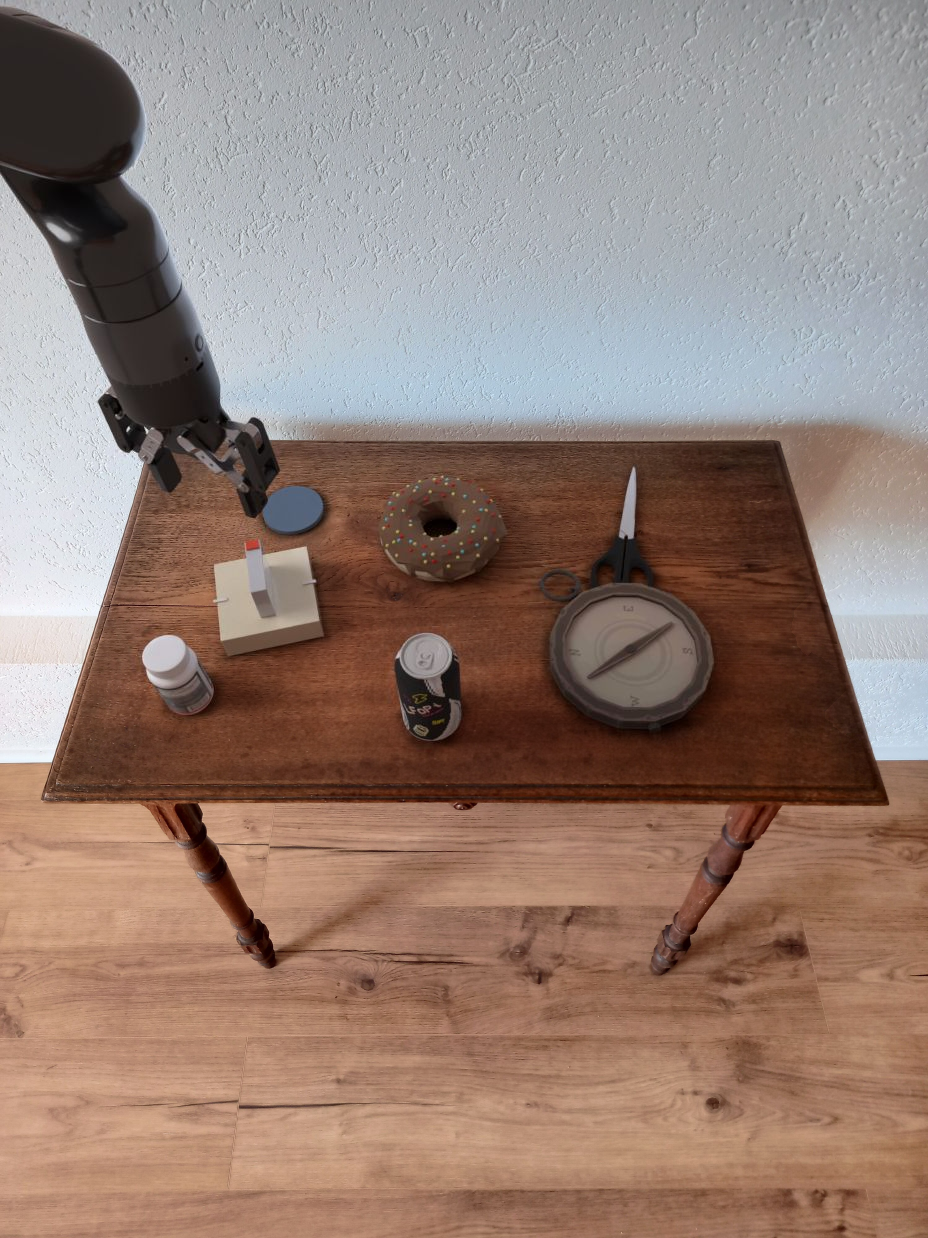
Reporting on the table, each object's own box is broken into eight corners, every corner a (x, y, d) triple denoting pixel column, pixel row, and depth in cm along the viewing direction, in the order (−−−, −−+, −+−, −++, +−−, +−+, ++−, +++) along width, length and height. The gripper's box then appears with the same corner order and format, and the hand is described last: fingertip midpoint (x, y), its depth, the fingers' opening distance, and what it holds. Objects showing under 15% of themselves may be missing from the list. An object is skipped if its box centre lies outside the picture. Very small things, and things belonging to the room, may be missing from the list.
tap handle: (276, 614, 83) (265, 587, 79) (260, 618, 82) (249, 591, 78) (269, 565, 86) (259, 537, 82) (254, 568, 86) (243, 540, 82)
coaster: (266, 540, 92) (265, 536, 91) (260, 495, 96) (259, 491, 95) (327, 528, 93) (327, 524, 92) (319, 484, 96) (318, 480, 96)
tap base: (224, 657, 83) (216, 641, 81) (217, 581, 89) (209, 563, 86) (327, 635, 85) (322, 619, 82) (314, 562, 90) (309, 544, 87)
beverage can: (396, 737, 78) (384, 676, 68) (412, 686, 81) (402, 621, 71) (454, 749, 77) (450, 689, 67) (467, 697, 80) (465, 633, 70)
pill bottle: (171, 675, 82) (143, 630, 75) (218, 674, 82) (193, 630, 75) (162, 717, 80) (132, 675, 73) (210, 716, 80) (184, 674, 73)
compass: (730, 727, 78) (736, 718, 76) (563, 745, 77) (565, 736, 76) (679, 559, 89) (683, 548, 87) (532, 573, 88) (533, 563, 87)
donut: (365, 578, 89) (359, 549, 85) (402, 487, 96) (398, 457, 92) (491, 604, 86) (491, 576, 82) (519, 510, 94) (521, 480, 90)
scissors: (601, 466, 97) (587, 602, 86) (602, 461, 96) (588, 598, 85) (658, 473, 96) (650, 611, 86) (659, 467, 95) (652, 606, 85)
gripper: (38, 356, 58) (122, 507, 71) (210, 403, 55) (264, 551, 68) (100, 295, 62) (169, 449, 75) (264, 336, 59) (305, 489, 72)
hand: (214, 498), depth 72 cm, fingers open, 8 cm apart
